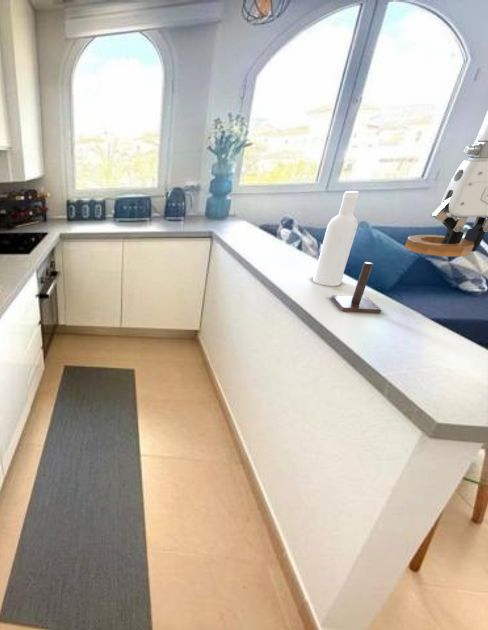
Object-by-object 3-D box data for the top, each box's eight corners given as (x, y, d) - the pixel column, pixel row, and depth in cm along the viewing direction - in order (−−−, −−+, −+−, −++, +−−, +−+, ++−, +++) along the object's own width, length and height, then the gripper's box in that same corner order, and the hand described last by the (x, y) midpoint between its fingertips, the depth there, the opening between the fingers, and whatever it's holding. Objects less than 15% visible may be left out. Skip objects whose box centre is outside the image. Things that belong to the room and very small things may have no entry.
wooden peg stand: (365, 301, 104) (380, 258, 98) (379, 314, 96) (397, 268, 90) (330, 299, 107) (343, 257, 101) (342, 312, 99) (356, 267, 93)
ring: (449, 243, 74) (452, 234, 73) (483, 256, 66) (488, 246, 65) (395, 243, 77) (398, 234, 76) (421, 256, 69) (425, 246, 68)
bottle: (346, 286, 115) (375, 192, 102) (322, 287, 115) (348, 193, 102) (330, 277, 122) (355, 189, 109) (307, 279, 122) (330, 190, 109)
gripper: (459, 154, 61) (420, 254, 69) (582, 148, 57) (525, 255, 65) (433, 153, 68) (399, 244, 76) (541, 147, 63) (494, 245, 71)
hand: (458, 249), depth 70 cm, fingers closed on ring, 2 cm apart
